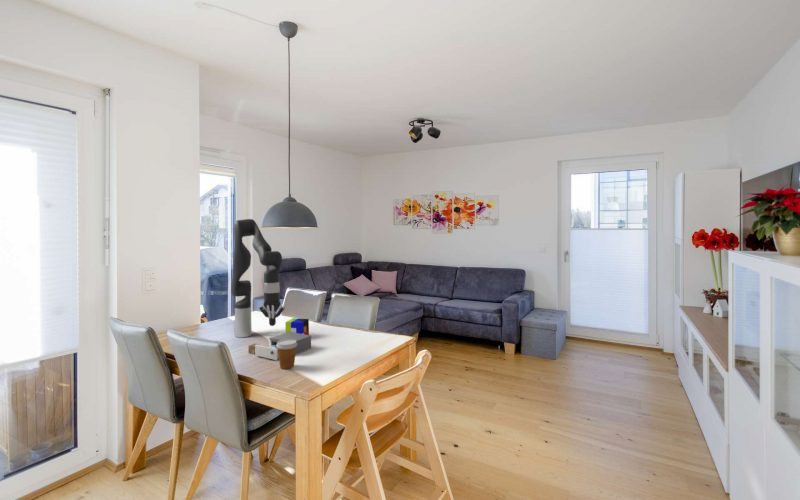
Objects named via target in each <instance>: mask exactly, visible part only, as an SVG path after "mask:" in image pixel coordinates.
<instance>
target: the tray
mask: <svg viewBox="0 0 800 500" xmlns="http://www.w3.org/2000/svg"><path fill="white" fill-rule="evenodd" d="M276 345H277V344H275V345H272V346H276ZM272 346H271V345H270V346H264V345H261V344H259V345H255V354H254V355H255V356H257V357H262V358H265V359H270V360H275V361H279V356H278V349H275V348H270V347H272Z"/></svg>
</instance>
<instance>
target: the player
mask: <svg viewBox="0 0 800 500" xmlns="http://www.w3.org/2000/svg"><path fill="white" fill-rule="evenodd" d="M286 339H292V340H296V343H297V346H296V353H295V356H296V355H299V354H301V353H304V352H306V351H308V350H311V349H312V335H310V334H309V335H305V334H299V333H293V332H287V333H286V332H284V333H282V334H278V335H275V336H272V337H269V341H270V346H272V345H275V344H277V342H278V341H281V340H286Z"/></svg>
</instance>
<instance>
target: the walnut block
mask: <svg viewBox="0 0 800 500" xmlns="http://www.w3.org/2000/svg"><path fill="white" fill-rule="evenodd" d="M255 345H260V343H252V344H249V345H248V346H247V347H248V354H251V355H255Z"/></svg>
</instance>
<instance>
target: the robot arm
mask: <svg viewBox="0 0 800 500" xmlns="http://www.w3.org/2000/svg"><path fill="white" fill-rule="evenodd" d="M233 234H234V235H233V237H234V239H233V241H234V245H233V246H234V248H233V261H232V262H233V263H232V264H233V265H232V279H231V288H230V290H231V292H230V293H231V295H232V297H243V298H242V299H240V300H238V301H237V302H235V303H234V320H233V335H234V337H235V338H247V337H252V333H253V332H252V331H253V330H252V283H251V281H250V280H249V279H248V280H247V279H245V280H241V278H242V276H244V274H245V273H246V272H247V271H248V269H250V267H251V262H252V255H251V251H250V250H249V249H248V247H246V246H245V244H244V243H243V242H244V241H243V239H244V237H251V236H253V239H252V247H253V249H254V250H255V251H256V253H257V254H258V258H259V262H260V264H261V265H262V266H264V267H268V266H271V268H270V269H268V270H265V271H264V273H263V301H264V302H263V305H262V306H260V307H258V308H259V310H260V312H261V313H262V315H263V316H264V317H265V318H268V324H269V326H270V327H273V326H275V325H277V324H276V323H277V322H276V321H277V320H276V319H277V318H278V317H280V315H281V314H282V313H283V312H284V311H285V309H286V308H285V306H282V304H281V300H280V299H281V294H280V293H281V292H280V291H281V290H280V277H279V275H280V269H281V266H282V261H283V256H282V254H281V252H280V251H276V250H273V251H272V247H271V245H270V244H269V243H268V242H267V240H266V239H265V238H264V236H263V234H262V232H261V230H260V228H259V226H258V224H257V222H256V221H255V220H254V219H252V218H246V219H238V220H235V221H234V224H233Z"/></svg>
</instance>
